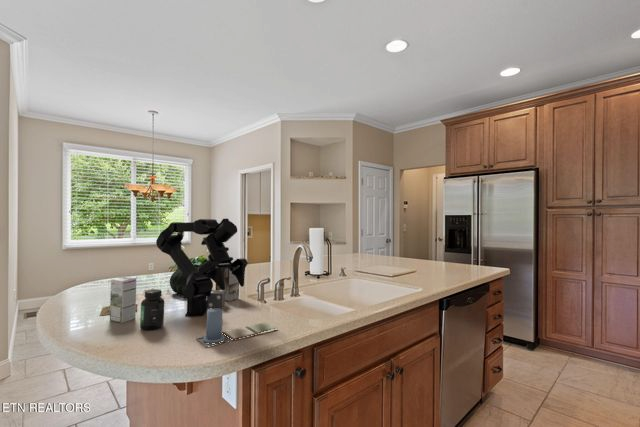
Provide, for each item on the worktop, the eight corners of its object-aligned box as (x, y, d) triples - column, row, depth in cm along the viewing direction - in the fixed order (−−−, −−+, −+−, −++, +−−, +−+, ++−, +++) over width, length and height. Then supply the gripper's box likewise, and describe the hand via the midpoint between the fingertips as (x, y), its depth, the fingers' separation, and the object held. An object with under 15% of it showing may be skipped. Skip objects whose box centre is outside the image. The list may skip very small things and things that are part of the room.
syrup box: (136, 318, 114) (137, 277, 114) (120, 323, 108) (122, 280, 108) (124, 316, 115) (125, 276, 116) (108, 321, 110) (110, 278, 110)
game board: (205, 347, 90) (206, 345, 90) (195, 339, 96) (196, 336, 96) (278, 330, 106) (278, 327, 106) (265, 323, 112) (265, 321, 112)
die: (206, 308, 128) (207, 293, 128) (210, 304, 134) (210, 289, 134) (221, 308, 129) (222, 293, 129) (224, 304, 135) (225, 289, 135)
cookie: (101, 308, 125) (101, 306, 125) (137, 305, 131) (137, 302, 131) (98, 317, 115) (98, 314, 115) (137, 313, 121) (137, 310, 121)
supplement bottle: (138, 332, 101) (140, 293, 101) (141, 325, 107) (142, 289, 107) (163, 329, 103) (164, 292, 103) (164, 323, 110) (165, 288, 110)
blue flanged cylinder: (200, 344, 93) (201, 313, 93) (206, 336, 99) (207, 307, 99) (222, 344, 93) (223, 313, 93) (226, 336, 99) (227, 307, 99)
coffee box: (239, 298, 145) (240, 262, 145) (228, 301, 139) (229, 264, 140) (225, 295, 150) (226, 260, 150) (214, 298, 144) (215, 262, 144)
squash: (184, 277, 162) (174, 257, 153) (212, 280, 160) (204, 260, 151) (170, 301, 152) (159, 281, 142) (200, 304, 150) (190, 285, 140)
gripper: (221, 259, 127) (237, 295, 122) (181, 262, 110) (197, 303, 105) (240, 244, 123) (257, 280, 118) (201, 244, 107) (219, 287, 101)
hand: (233, 287), depth 111 cm, fingers open, 9 cm apart
